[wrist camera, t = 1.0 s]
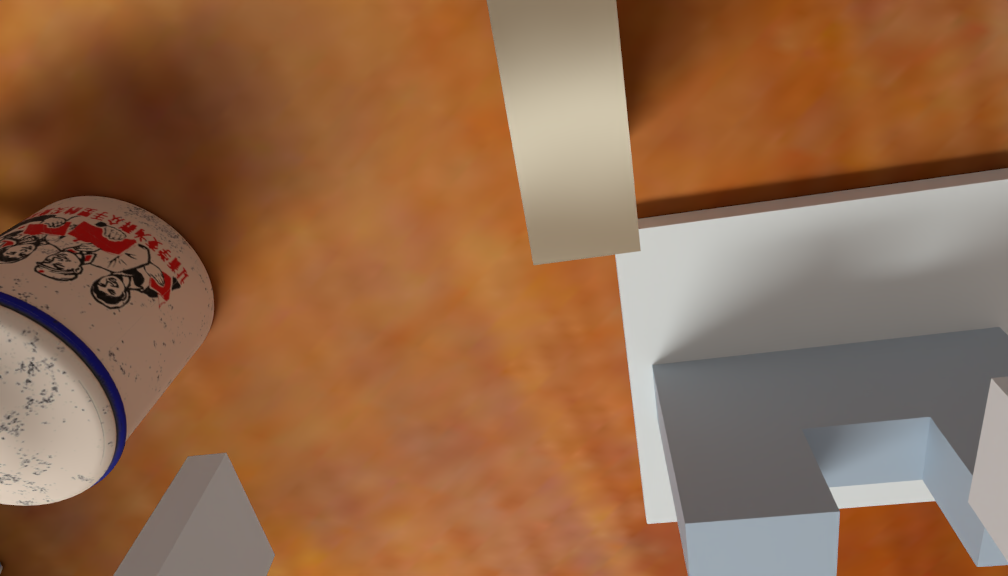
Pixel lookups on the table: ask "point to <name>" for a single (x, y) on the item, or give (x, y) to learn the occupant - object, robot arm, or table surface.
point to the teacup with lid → (89, 338)
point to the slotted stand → (815, 365)
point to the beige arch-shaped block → (568, 125)
